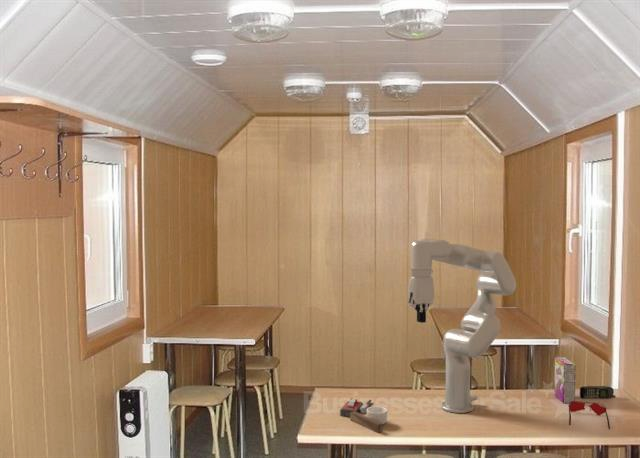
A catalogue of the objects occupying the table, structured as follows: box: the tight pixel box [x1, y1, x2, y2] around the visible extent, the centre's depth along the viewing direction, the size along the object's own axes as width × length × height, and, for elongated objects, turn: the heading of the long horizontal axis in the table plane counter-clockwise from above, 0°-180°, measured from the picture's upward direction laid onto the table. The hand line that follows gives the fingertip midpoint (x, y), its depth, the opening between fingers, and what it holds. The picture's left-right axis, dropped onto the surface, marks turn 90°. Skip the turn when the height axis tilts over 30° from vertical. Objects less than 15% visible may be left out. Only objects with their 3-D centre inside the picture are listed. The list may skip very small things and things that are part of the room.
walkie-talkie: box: [339, 398, 372, 418], centre depth 260 cm, size 9×4×20 cm
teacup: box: [366, 405, 388, 426], centre depth 245 cm, size 10×8×5 cm
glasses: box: [567, 400, 611, 430], centre depth 248 cm, size 14×16×5 cm
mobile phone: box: [579, 385, 616, 399], centre depth 274 cm, size 5×3×15 cm
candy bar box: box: [554, 356, 576, 405], centre depth 272 cm, size 11×5×16 cm, turn 179°
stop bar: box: [349, 411, 383, 434], centre depth 242 cm, size 2×16×3 cm, turn 35°
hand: (421, 321), depth 248 cm, fingers closed
